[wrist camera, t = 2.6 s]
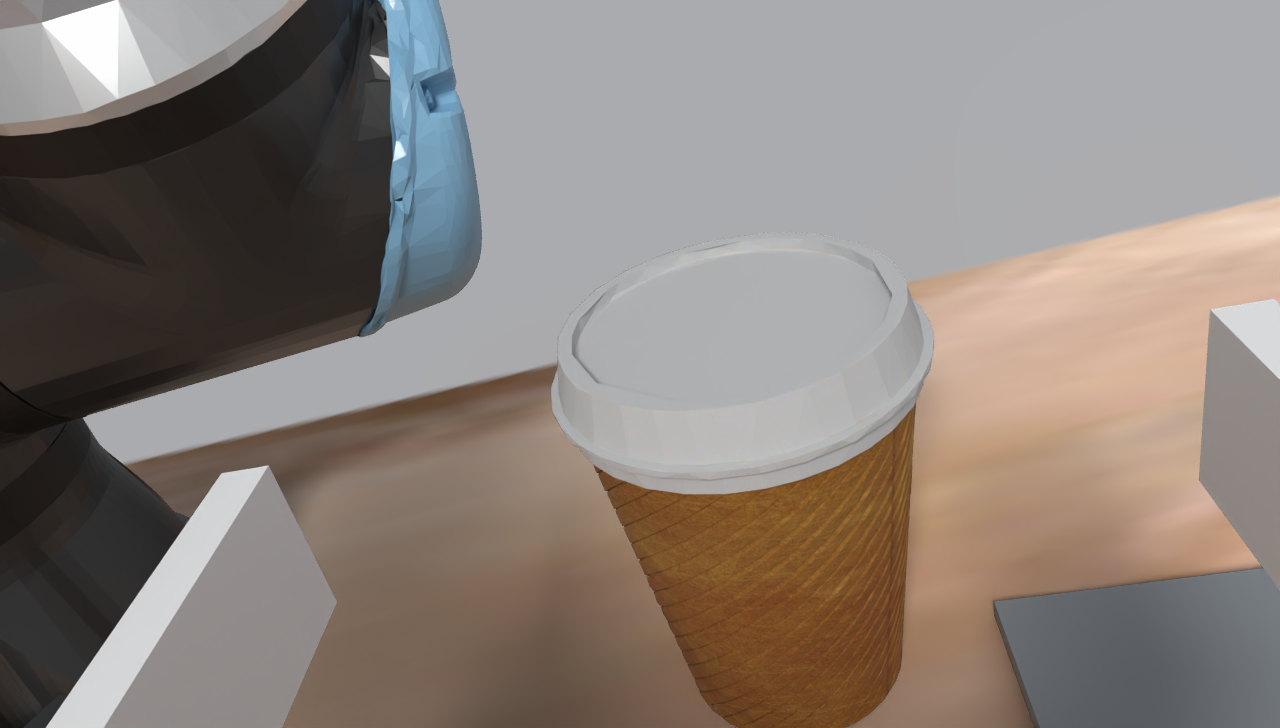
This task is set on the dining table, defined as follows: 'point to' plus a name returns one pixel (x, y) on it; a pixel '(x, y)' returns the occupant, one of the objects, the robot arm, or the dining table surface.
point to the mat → (1150, 653)
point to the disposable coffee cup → (760, 460)
